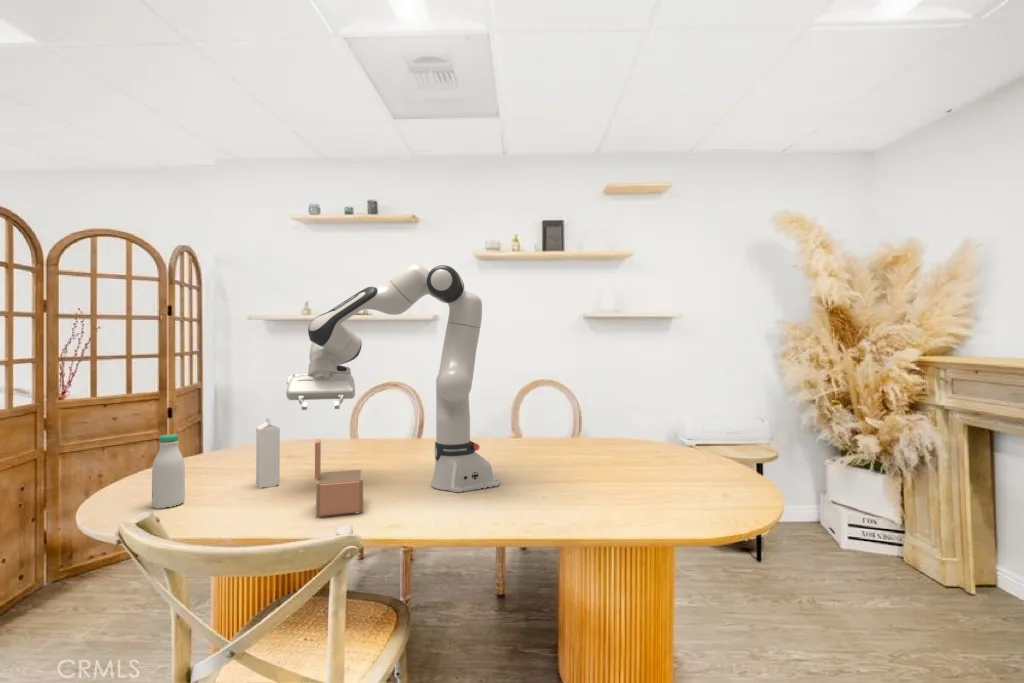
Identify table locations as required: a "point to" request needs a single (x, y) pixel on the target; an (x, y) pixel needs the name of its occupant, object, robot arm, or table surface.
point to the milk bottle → (168, 474)
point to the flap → (317, 458)
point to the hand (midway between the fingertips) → (320, 408)
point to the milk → (267, 454)
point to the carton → (339, 493)
